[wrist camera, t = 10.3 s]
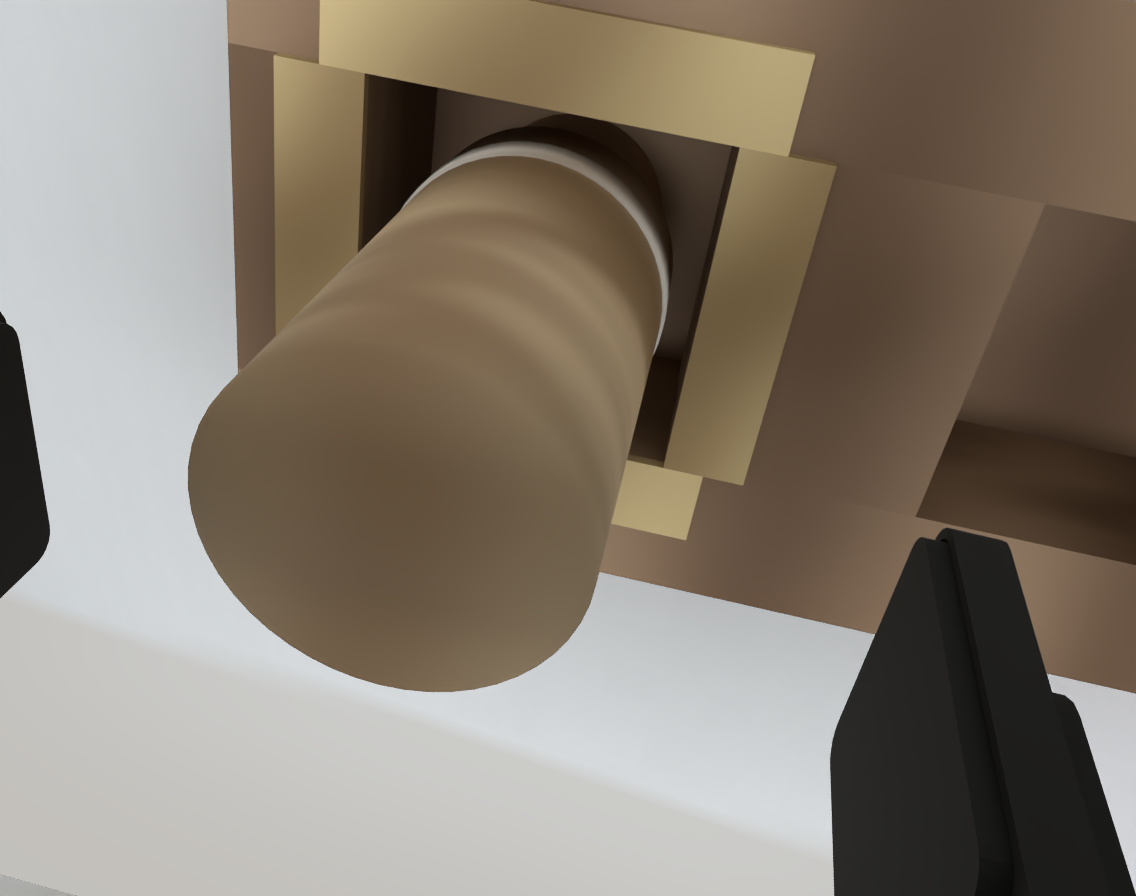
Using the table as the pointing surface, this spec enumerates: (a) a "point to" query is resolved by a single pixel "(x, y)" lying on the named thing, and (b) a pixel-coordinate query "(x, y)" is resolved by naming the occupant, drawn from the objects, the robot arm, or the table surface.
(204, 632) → the table surface
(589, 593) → the peg
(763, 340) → the board
